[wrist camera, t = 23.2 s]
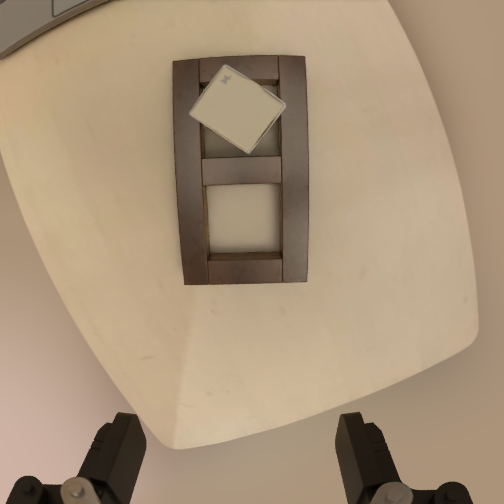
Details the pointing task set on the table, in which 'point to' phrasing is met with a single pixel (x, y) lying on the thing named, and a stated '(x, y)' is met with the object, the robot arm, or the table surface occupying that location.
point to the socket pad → (242, 173)
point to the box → (237, 108)
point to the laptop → (34, 19)
